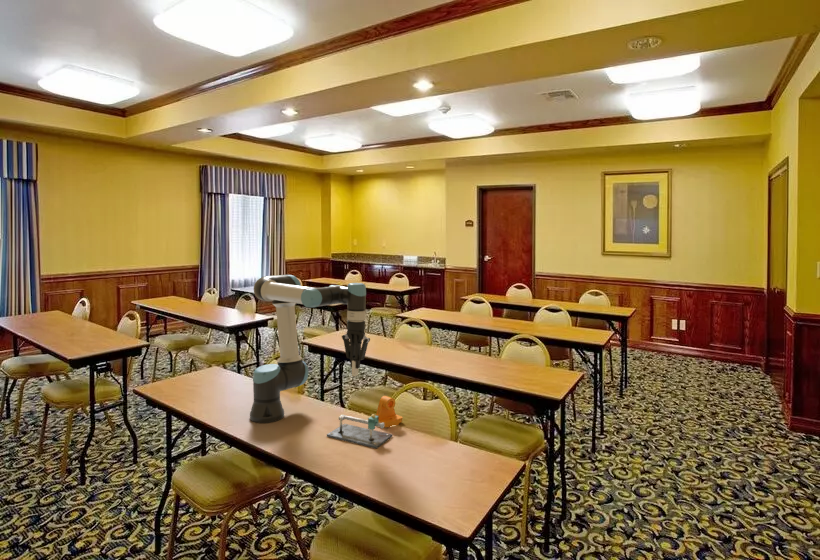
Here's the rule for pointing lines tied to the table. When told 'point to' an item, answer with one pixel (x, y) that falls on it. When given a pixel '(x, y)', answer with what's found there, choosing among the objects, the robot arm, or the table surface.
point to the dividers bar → (357, 421)
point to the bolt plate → (360, 436)
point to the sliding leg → (372, 423)
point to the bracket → (387, 412)
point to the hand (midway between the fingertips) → (355, 375)
